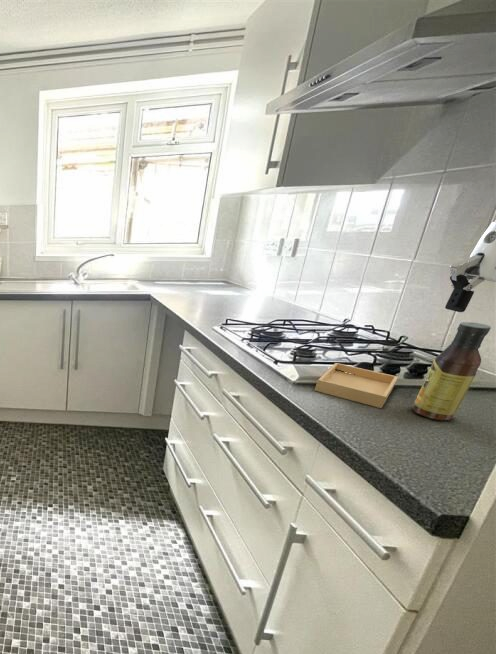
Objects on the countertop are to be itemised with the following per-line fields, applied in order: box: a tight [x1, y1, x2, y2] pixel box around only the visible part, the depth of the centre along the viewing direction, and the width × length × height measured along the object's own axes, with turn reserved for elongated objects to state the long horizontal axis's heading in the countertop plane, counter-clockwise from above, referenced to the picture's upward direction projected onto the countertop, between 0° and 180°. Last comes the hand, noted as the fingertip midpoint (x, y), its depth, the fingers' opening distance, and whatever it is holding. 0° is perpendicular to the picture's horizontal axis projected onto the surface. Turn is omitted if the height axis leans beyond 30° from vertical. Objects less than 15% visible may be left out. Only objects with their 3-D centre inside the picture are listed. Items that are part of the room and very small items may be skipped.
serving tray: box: [314, 362, 399, 409], centre depth 99 cm, size 17×12×3 cm
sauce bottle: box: [413, 321, 492, 421], centre depth 84 cm, size 7×6×20 cm
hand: (480, 311), depth 79 cm, fingers open, 9 cm apart
